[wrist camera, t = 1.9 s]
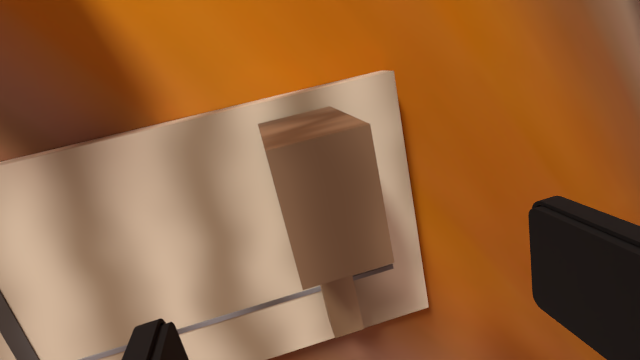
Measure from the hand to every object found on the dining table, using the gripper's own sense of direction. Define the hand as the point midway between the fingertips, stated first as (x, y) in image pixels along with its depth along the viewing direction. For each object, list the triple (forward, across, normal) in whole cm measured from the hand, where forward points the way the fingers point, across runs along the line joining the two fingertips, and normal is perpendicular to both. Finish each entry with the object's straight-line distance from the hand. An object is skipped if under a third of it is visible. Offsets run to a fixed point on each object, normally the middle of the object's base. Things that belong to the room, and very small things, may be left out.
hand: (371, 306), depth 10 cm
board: (+15, +11, +4) cm, 19 cm away
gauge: (+13, -1, +3) cm, 13 cm away
